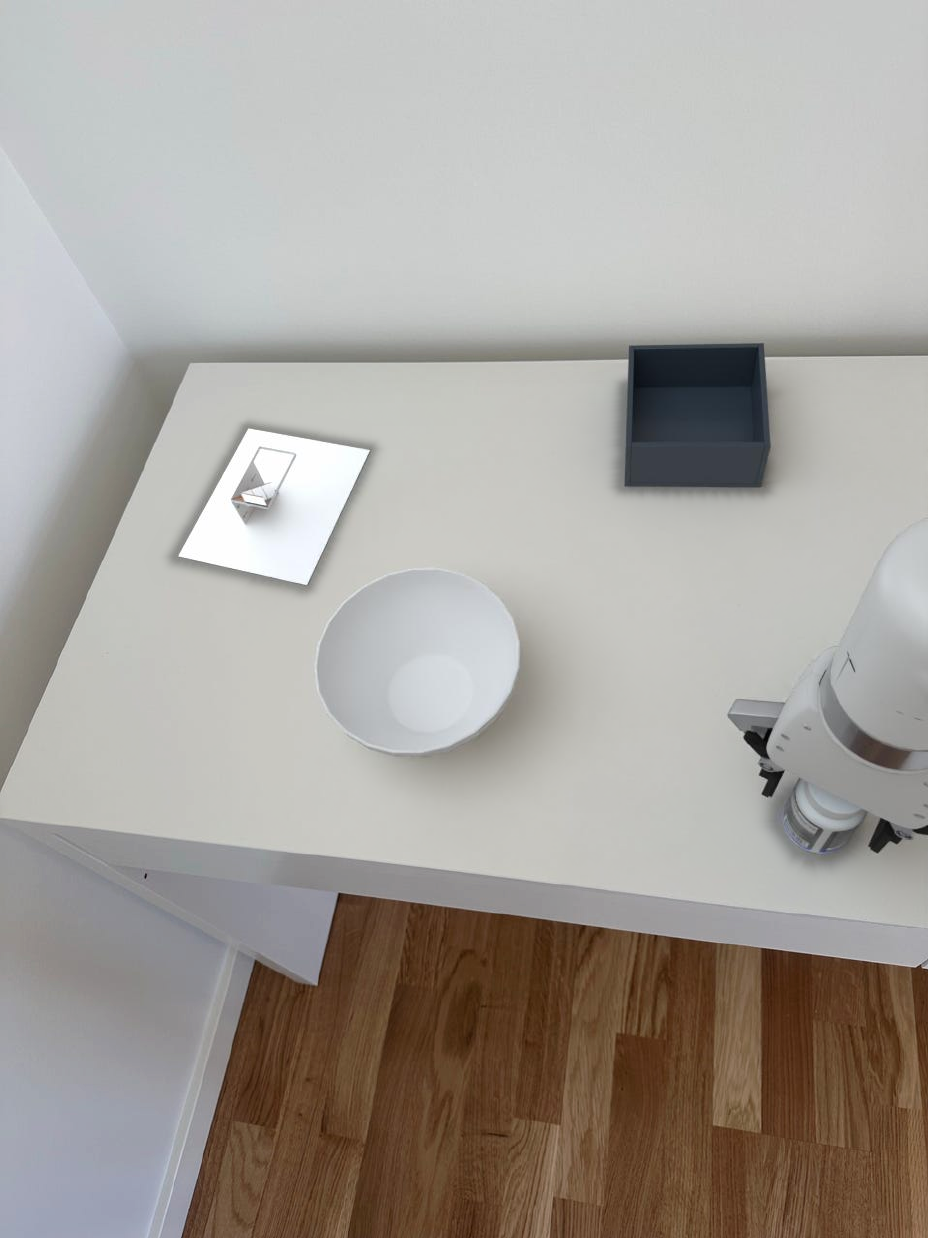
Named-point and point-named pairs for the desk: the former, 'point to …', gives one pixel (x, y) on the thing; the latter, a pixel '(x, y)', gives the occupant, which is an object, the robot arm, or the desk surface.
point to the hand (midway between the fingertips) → (826, 804)
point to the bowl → (418, 662)
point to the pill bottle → (819, 818)
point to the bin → (697, 415)
